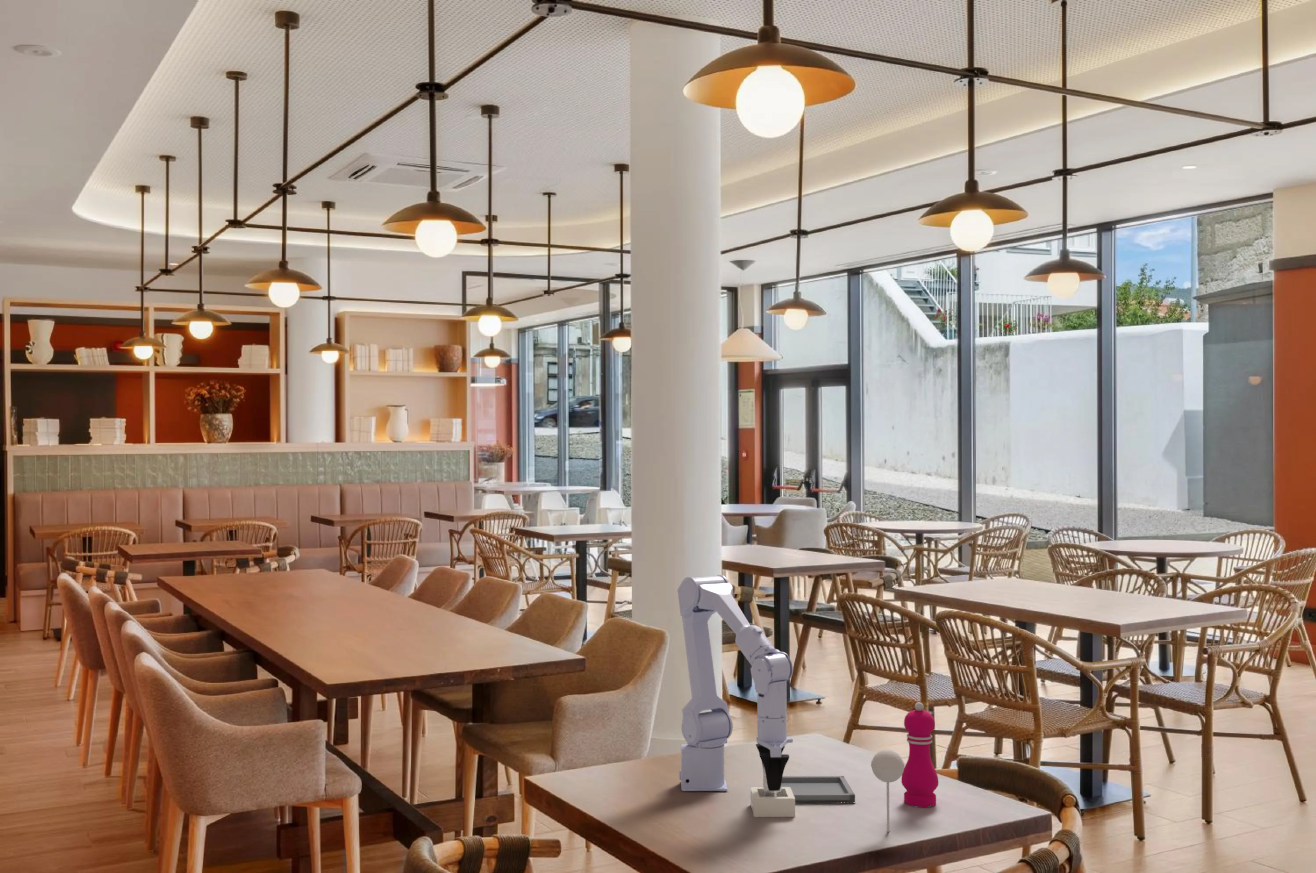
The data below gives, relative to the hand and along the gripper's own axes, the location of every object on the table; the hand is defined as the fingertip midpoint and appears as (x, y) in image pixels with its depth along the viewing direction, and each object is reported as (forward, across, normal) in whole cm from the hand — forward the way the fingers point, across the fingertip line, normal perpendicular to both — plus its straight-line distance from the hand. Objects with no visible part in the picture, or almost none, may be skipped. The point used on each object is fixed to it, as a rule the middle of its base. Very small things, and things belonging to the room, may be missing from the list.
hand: (772, 785), depth 223 cm
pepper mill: (+5, +5, -30) cm, 31 cm away
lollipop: (+5, -13, -20) cm, 24 cm away
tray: (+5, +12, -9) cm, 16 cm away
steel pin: (+5, 0, 0) cm, 5 cm away
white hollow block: (+5, 0, 0) cm, 5 cm away
